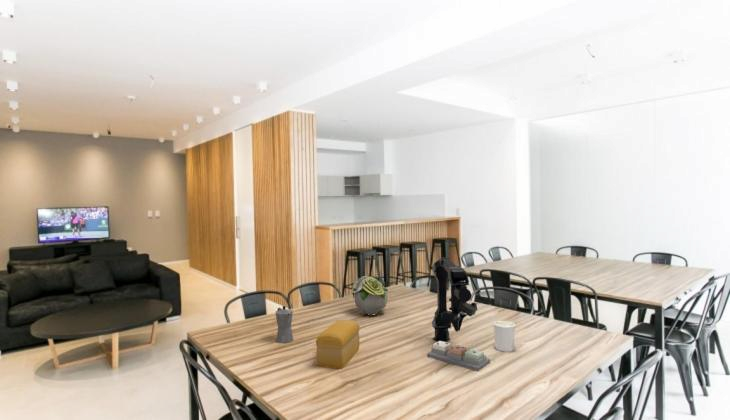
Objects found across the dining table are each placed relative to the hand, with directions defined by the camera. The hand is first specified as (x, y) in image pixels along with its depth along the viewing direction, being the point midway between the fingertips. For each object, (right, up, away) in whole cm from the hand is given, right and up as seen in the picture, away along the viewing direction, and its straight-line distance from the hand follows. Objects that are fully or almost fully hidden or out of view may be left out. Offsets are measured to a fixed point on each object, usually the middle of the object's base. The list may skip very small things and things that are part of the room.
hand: (457, 330), depth 178 cm
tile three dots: (0, -10, 0) cm, 10 cm away
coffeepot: (-85, -14, +30) cm, 91 cm away
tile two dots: (-6, -10, +6) cm, 13 cm away
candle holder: (+26, -13, +13) cm, 31 cm away
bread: (-54, -14, +5) cm, 56 cm away
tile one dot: (+6, -10, -5) cm, 13 cm away
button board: (0, -13, 0) cm, 13 cm away
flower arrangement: (-38, -12, +75) cm, 85 cm away
